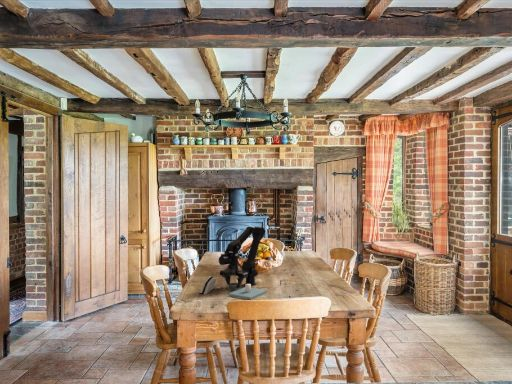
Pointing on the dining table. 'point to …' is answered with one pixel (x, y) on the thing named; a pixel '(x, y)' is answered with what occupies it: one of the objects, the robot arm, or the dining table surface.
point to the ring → (233, 286)
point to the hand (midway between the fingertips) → (233, 287)
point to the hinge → (208, 285)
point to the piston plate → (247, 292)
